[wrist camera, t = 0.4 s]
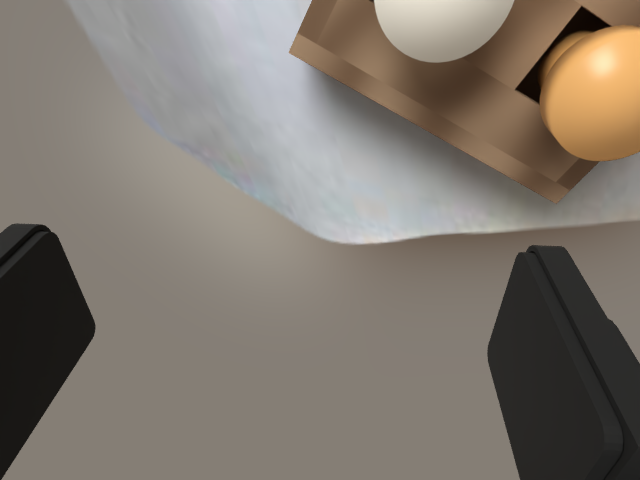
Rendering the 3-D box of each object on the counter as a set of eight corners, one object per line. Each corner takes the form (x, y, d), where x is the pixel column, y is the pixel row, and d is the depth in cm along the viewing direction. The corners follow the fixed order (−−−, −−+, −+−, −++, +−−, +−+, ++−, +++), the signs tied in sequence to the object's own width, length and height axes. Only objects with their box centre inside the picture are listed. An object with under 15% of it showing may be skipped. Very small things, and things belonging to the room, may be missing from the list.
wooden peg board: (698, -19, 27) (768, -4, 22) (530, 163, 35) (556, 203, 30) (420, -229, 23) (433, -267, 18) (301, 30, 31) (288, 52, 26)
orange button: (658, 45, 25) (726, 77, 20) (574, 134, 28) (615, 180, 23) (574, -13, 24) (626, 6, 19) (497, 88, 27) (524, 125, 22)
